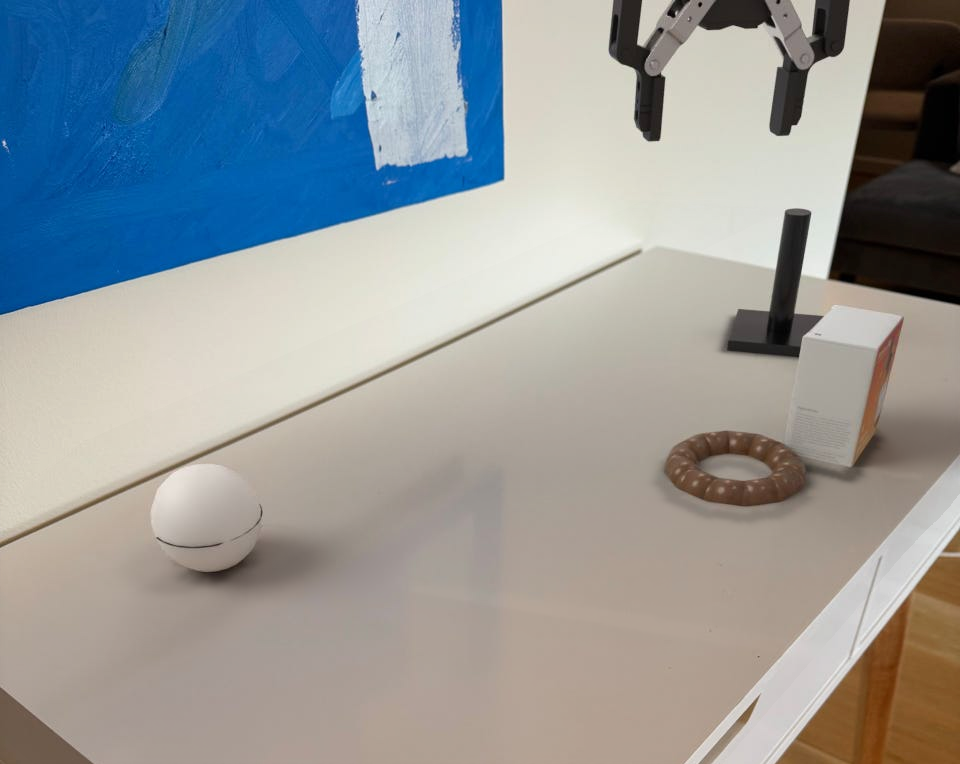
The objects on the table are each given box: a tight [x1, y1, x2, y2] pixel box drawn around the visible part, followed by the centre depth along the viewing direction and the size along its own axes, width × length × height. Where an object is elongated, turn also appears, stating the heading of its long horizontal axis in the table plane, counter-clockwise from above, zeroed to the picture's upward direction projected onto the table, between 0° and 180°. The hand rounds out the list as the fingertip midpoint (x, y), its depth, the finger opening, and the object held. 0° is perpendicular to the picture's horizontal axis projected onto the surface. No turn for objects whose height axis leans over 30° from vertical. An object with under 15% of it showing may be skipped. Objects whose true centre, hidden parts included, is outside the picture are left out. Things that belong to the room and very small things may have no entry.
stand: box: [726, 207, 825, 358], centre depth 97 cm, size 9×9×12 cm
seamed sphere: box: [150, 463, 295, 573], centre depth 68 cm, size 10×7×7 cm
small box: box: [783, 304, 905, 468], centre depth 78 cm, size 8×6×10 cm
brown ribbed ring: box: [663, 429, 807, 507], centre depth 77 cm, size 10×10×2 cm
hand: (715, 136), depth 65 cm, fingers open, 8 cm apart
